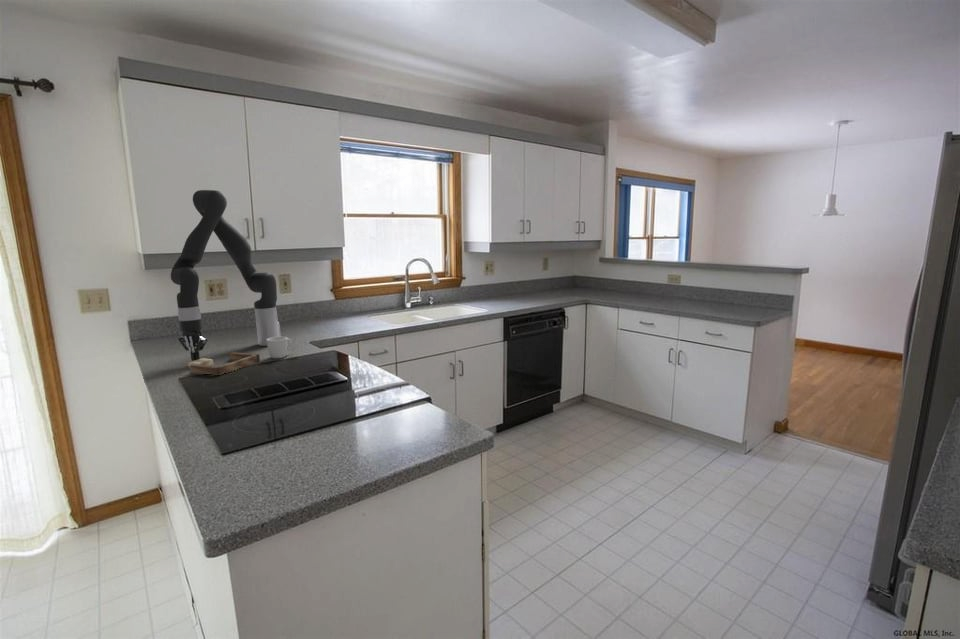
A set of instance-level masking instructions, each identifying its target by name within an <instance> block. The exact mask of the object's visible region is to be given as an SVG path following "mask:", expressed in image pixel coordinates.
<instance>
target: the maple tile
mask: <svg viewBox="0 0 960 639" xmlns="http://www.w3.org/2000/svg"><path fill="white" fill-rule="evenodd" d="M187 364H188V368H189V369H190V365H204V366H214V360H213V359H212V358H204V357H203V358H201V357H200V359H198V360H194V361H192V360H190V361H188V362H187Z"/></svg>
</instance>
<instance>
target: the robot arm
mask: <svg viewBox="0 0 960 639" xmlns="http://www.w3.org/2000/svg"><path fill="white" fill-rule="evenodd" d="M192 204H193V206H194V208H195V209H196V211H197V212H198V213H199V215H200V216H201V219H200V221H199V222H198V224H197V225H196V226H195V227H194V229H193V230H192V231H191V232H190V233H189V235H188V236H187V238H186V240H185V241H184V244H183V247H182V250H181V253H180V256H179V257H178V259H177V260H176V261H175V263H174V265H173V266H172V268H171V271H170V280H171V281H172V283H174V284H175V285H178V286H179V287H180V288H179V292H178V293H177V294H176V302H177V315H178V316H177V317H178V324H179V329H180V330H179V331H180V332H182V336H181V337H179V338H178V341H179V343H180V344H181V346H182V347H183V349H184V350H185V351H187V352H188V353H190V354H189V355H190V359H191V361H194V360H198V359H201V357H200V351H203V350H204V348H205V346H206V344H207V342H208V338H207V337H206V338H205V337H203V333H202V331H201V330H203V322H202V315H201V310H200V305H199V298H198V292H199V286H200V278H199V274H198V272H197V271H196V270H195V269H194V268H195V266H196V265H197V264H200V263H201V261H202V259H203V257H204V253H205V250H206V247H207V245H208V243H209V240H210V238H211V236H212V234H213V233H214V234H215V235H216V237H217V238H218V240H219V241H220V243H221V244H222V246H223V247H224V249H225V250H226V252H227V254H228V255H229V256H230V258H231V260H232V261H233V262H234V264H235V265H236V267H237V269H238V270H239V272H240V274H241V276H242V278H243V280H244V281H245V284H246V285H247V288H248V289H249V290H250V291H251V292H253V293H259V294H260V295H261V297H260V299H258V300H256V301H255V302H254V303H253V305H254V306H253V307H254V314H255V315H254V316H255V323H256V325H255V326H256V333H257V342H258V346H261V347H262V346H263V347H265V346H266V347H268V346H267V341H266V340H267V339H268V338H271V337H279V336H282V335H281V325H280V322H279V321H278V311H277V300H278V293H277V289H278V288H277V279H276V277H275V275H274V274H273V273H272V272H258V270H256V268H255V266H254V265H253V262H252V248H251V247H252V246H251V245H250V243H249V241H248V240H247V238H246V237H245V235H244V234H243V233H242V232H241V230H239V229H238V228H237V227H236V226H235V225H233V223H231V222H230V221H228V220H227V218H225V216H224V215H223V214H224V213H225V210H226V208H227V204H228V201H227V197H226V195H225V194H224V193H223V192H221V191H219V190H213V189H199V190H197V191H195V192H193V195H192Z"/></svg>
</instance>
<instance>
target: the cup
mask: <svg viewBox="0 0 960 639" xmlns="http://www.w3.org/2000/svg"><path fill="white" fill-rule="evenodd" d="M266 341H267V346H266V347H267V349H268V354H269V357H270V358H271V359H283V358H285V357H286V356H287V355H288V350H291V348H292V346H293V341H292V339H291V338H288V337H286V336H282V335H281V336H279V337H271V338H268V339H267V340H266Z"/></svg>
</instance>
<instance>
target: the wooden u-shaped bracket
mask: <svg viewBox="0 0 960 639" xmlns="http://www.w3.org/2000/svg"><path fill="white" fill-rule="evenodd" d="M228 358H229V361H232V362H229V363H226V364H223V365H220V366H216V365H213V366H204V365H190V368H189V373H190V375H191V374H194V375H203V374H216V375H221V374H224V373H227V374H229V373H228V372H230V373H232V372H235V371H238V370H240V369H239V368H241V369H243V367H244V368H246V367H248V366H251V365H254V364H257V363H259V362H261V358H260V354H259V353H247V352H246V353H245V352H234V351H233V352H229V353H228ZM237 369H238V370H237ZM234 370H235V371H234ZM231 371H232V372H231ZM224 375H225V374H224ZM221 376H222V375H221Z"/></svg>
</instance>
